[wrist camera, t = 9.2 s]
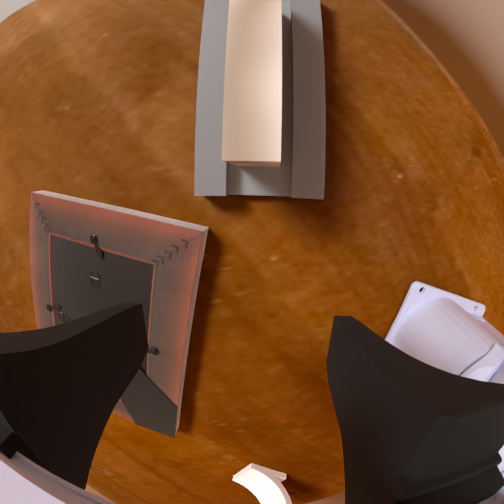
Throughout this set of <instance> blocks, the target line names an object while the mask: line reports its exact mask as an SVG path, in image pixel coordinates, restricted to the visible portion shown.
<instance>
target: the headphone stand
mask: <svg viewBox="0 0 504 504" xmlns="http://www.w3.org/2000/svg"><path fill="white" fill-rule="evenodd" d="M285 479H286V474H285V473H282V472H278V471H275V470H272V469H269V468H265V467H262V466H259V465H256V464H253V463H251V464H250V465H248V466H247V467H245V468H244V469H242V470H241V471H240V472H238V473H237V474H235V475H234V476H233V480H232V481H235V482H237V483H239V484H241V485H243V486H245V487H246V488H247V489H249V490H250V491H251V492H252V493H253V494H254V495H255V496H256V497H257V499H258V500H259V502H260V503H261V504H292V502H291V499H290V497H289V494H288V492H287V491H286V489H285V488H284V486H283V485H282V484H281V482H282V481H284V480H285Z"/></svg>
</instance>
